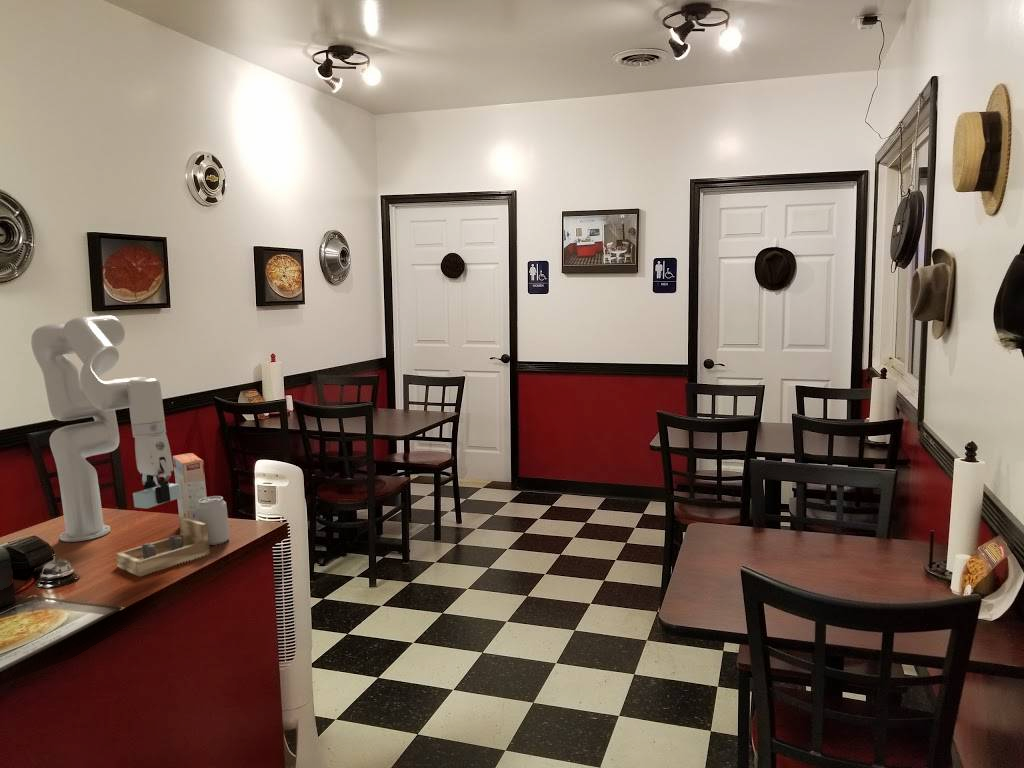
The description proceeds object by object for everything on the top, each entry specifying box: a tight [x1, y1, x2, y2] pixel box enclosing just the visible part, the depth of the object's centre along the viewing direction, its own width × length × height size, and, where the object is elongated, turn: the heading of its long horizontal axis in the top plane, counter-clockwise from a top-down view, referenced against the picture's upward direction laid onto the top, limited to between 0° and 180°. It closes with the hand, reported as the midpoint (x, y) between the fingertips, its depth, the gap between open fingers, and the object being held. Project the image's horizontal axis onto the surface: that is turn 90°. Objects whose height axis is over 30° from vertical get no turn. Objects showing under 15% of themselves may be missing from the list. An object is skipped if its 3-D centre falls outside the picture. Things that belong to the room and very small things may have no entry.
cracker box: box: [172, 452, 208, 521], centre depth 223 cm, size 14×6×21 cm, turn 33°
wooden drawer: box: [115, 517, 211, 578], centre depth 199 cm, size 12×18×8 cm, turn 140°
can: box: [196, 495, 231, 546], centre depth 211 cm, size 8×8×12 cm
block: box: [132, 482, 181, 509], centre depth 197 cm, size 10×4×4 cm, turn 153°
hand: (157, 500), depth 197 cm, fingers closed on block, 5 cm apart
